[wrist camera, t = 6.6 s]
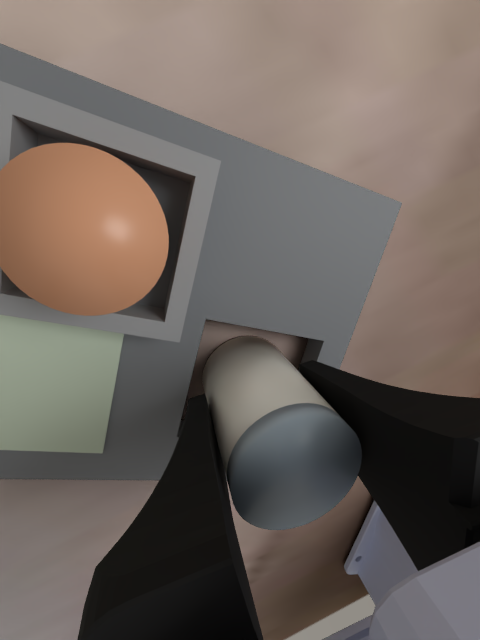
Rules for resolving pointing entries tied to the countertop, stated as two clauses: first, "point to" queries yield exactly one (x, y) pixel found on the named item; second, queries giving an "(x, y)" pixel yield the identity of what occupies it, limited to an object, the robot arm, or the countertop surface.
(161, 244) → the orange round piece
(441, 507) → the robot arm
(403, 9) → the countertop surface
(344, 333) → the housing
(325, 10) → the countertop surface
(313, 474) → the cartridge
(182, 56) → the countertop surface
